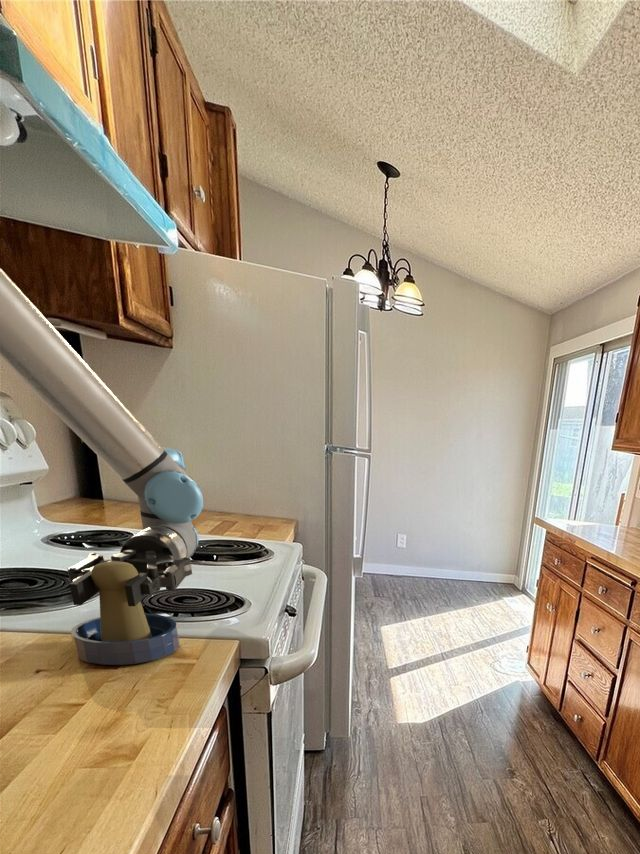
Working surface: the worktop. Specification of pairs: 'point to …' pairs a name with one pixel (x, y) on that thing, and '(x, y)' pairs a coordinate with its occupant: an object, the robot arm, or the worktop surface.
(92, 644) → the bowl
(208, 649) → the worktop surface
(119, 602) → the cork
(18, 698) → the worktop surface
